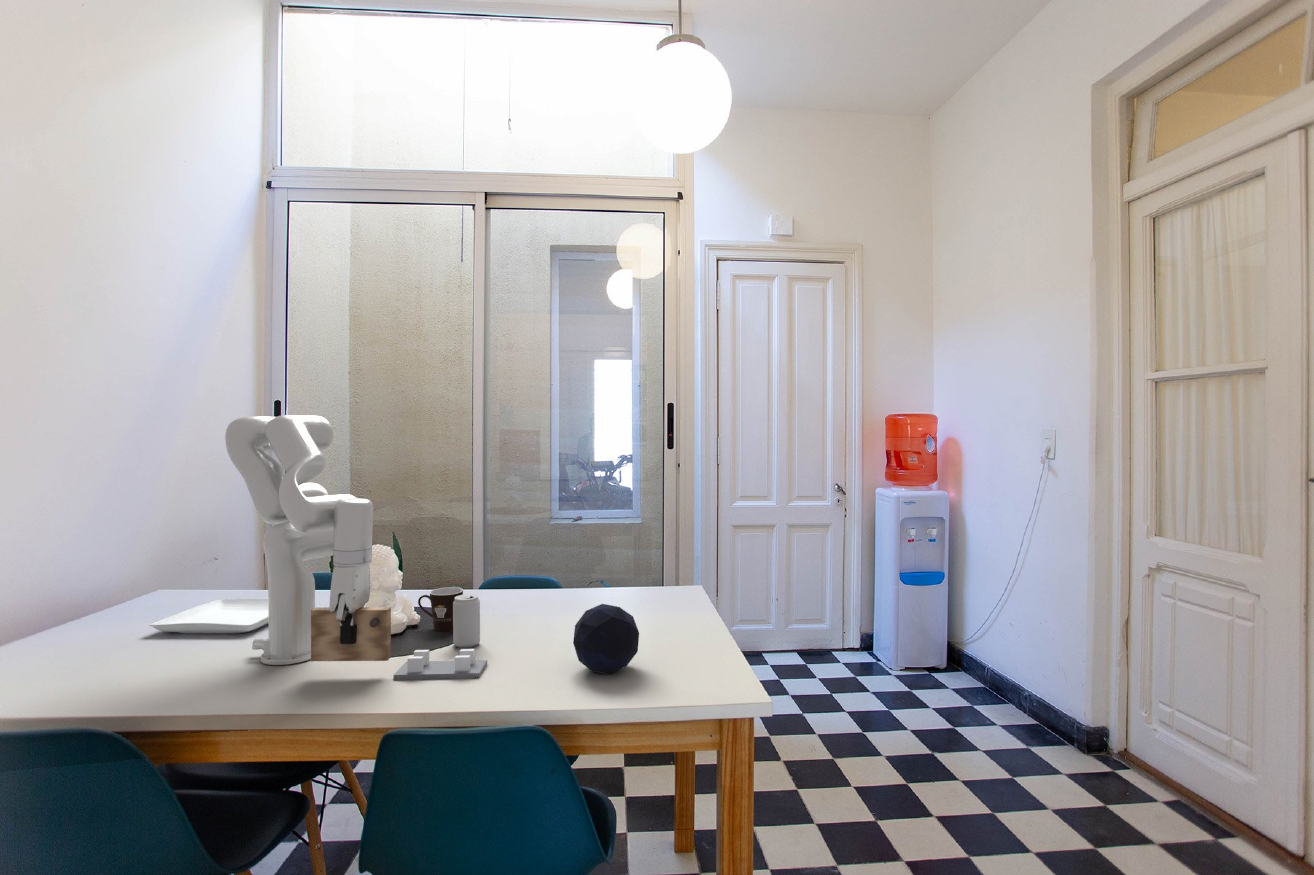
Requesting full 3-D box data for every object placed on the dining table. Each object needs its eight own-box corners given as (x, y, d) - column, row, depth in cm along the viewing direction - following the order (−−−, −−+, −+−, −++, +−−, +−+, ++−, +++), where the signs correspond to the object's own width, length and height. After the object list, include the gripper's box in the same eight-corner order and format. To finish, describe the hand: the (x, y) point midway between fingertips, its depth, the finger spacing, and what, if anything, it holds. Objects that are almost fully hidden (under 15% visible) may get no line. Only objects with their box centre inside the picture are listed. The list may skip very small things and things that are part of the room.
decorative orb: (561, 636, 147) (571, 594, 138) (622, 628, 153) (635, 587, 144) (574, 692, 136) (587, 649, 128) (639, 681, 142) (655, 640, 134)
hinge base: (393, 679, 135) (393, 660, 135) (406, 666, 143) (406, 648, 143) (479, 677, 136) (479, 659, 136) (487, 664, 144) (487, 646, 144)
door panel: (308, 663, 135) (308, 611, 134) (315, 657, 138) (315, 607, 137) (385, 662, 135) (385, 611, 135) (390, 657, 139) (390, 607, 138)
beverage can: (472, 649, 154) (472, 600, 154) (448, 648, 155) (448, 599, 155) (484, 641, 160) (484, 593, 160) (461, 640, 161) (461, 592, 161)
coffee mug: (470, 626, 172) (470, 589, 172) (444, 635, 165) (444, 596, 165) (441, 620, 179) (441, 584, 179) (415, 628, 171) (415, 590, 171)
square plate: (251, 638, 164) (251, 623, 164) (146, 638, 164) (146, 623, 164) (309, 609, 191) (309, 597, 191) (219, 609, 192) (219, 597, 192)
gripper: (350, 548, 144) (349, 628, 145) (317, 564, 128) (315, 654, 129) (384, 549, 145) (382, 629, 145) (355, 565, 129) (353, 655, 129)
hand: (350, 640), depth 137 cm, fingers closed on door panel, 2 cm apart
